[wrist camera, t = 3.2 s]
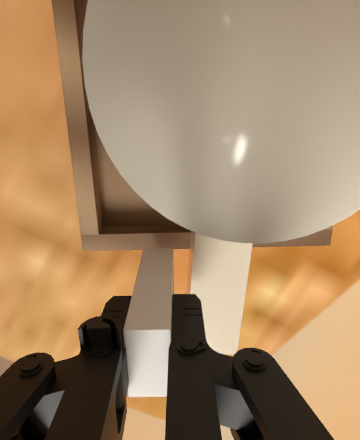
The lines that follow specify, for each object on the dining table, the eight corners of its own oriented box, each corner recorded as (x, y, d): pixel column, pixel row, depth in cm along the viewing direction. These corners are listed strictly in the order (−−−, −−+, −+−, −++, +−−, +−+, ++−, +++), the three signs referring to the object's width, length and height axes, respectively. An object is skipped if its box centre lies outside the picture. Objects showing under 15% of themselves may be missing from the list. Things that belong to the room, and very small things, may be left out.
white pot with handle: (132, -22, 15) (75, -196, 7) (334, -6, 16) (521, -155, 7) (127, 293, 21) (91, 416, 12) (278, 301, 21) (346, 428, 12)
